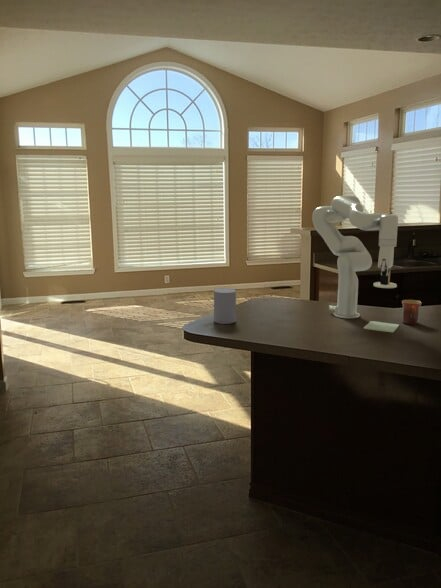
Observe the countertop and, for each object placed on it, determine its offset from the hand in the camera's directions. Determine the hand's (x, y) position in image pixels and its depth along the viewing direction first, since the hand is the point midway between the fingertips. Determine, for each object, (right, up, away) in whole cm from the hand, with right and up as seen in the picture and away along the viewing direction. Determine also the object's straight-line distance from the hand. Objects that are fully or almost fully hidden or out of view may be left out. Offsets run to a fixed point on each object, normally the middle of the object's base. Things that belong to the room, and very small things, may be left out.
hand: (385, 283), depth 234 cm
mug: (+15, -19, +11) cm, 27 cm away
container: (-72, -18, +14) cm, 75 cm away
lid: (0, -1, 0) cm, 1 cm away
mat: (0, -20, +4) cm, 21 cm away
